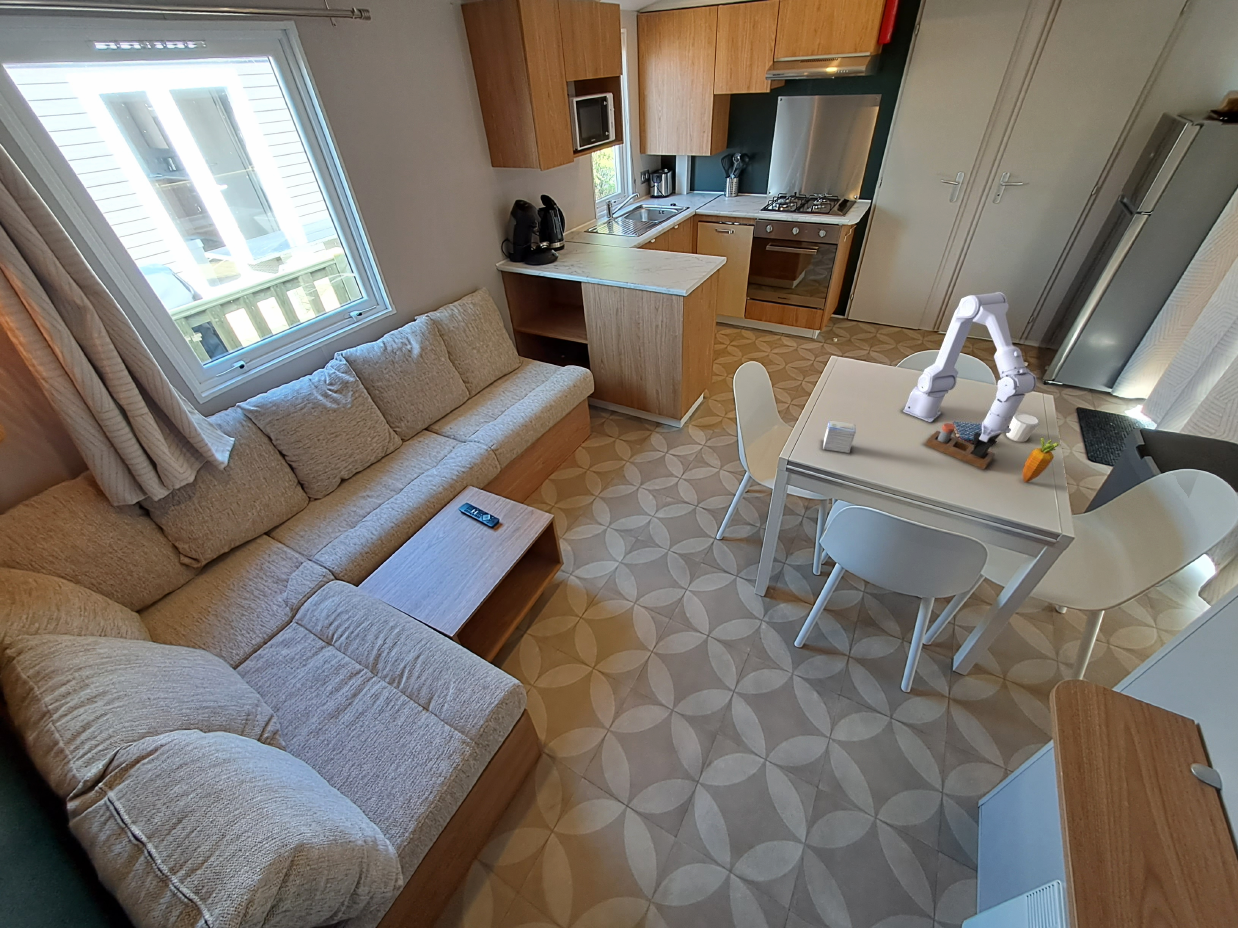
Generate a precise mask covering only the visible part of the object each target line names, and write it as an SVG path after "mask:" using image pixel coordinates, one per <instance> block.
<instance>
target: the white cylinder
mask: <svg viewBox="0 0 1238 928" xmlns="http://www.w3.org/2000/svg"><path fill="white" fill-rule="evenodd" d="M1040 423H1041V420H1040V419H1039V418H1038V417H1036V416H1035V415H1033V414H1030V413H1025V412H1016V413H1015V414H1014V416H1013V418H1012V419H1011V421H1010V423H1009V425H1008V426H1009V428H1010V429H1011V431H1010V433H1005V435H1006V437H1007V438H1008V439H1010V440H1011V441H1013V442H1014V441H1015V442H1018V443H1024V442H1026V441H1028V439H1029V438H1030V436H1031V435H1032V434H1033V433H1034V432H1035V431H1036V429H1037V428H1038V427H1039V425H1040Z"/></svg>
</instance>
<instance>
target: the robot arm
mask: <svg viewBox="0 0 1238 928" xmlns="http://www.w3.org/2000/svg"><path fill="white" fill-rule="evenodd" d="M1009 308H1010V306H1009V303H1008V299H1007V296H1006V294H1004V292H1001V291H996V292H992V293H991V292H990V293H984V294H975V295H974V294H971V295H967V296H963V297H962V298H961V299H960V301H959V303H958V306H957V308H956V309H955V311H954V313H953V315H952V318H951V320H950V324H949V326H948V329H947V331H946V333H945V336H944V339H943V341H942V344H941V347H940V348H939V352H938V355H937V357H936V360H935V362H934V363H933V364H931V365H930V366H928V367H926V368H925V369H924V370H923V373H922V374H921V375H920V376H919V378H918V380H917V385H915V387H913V389H912V391H911V393H910V394H909V396H908V399H907V401H906V404H905V407H904V409H903V410H902V412H903V413H904V414H905V413H906V414H908V415H911V416H913V417H916V418H918V419H920V420H924V421H926V422H929V423H932V422H933V421H934V420H935V419H936V418H937V417H939V416H940V415H941V413H942V412H941V411H940V410H939V409H940V407H941V405H942V404H943V403H942V402H943V400H944V398H945V396H946V394H948V393H949V392H950V391H952V390H954V388H955V387H956V385H957V379H958V374H959V371H958V370H957V368H956V367H955V366H956V363H957V361H958V359H959V356H960V354H961V352H962V349H963V348H964V347H963V346H964V344H965V342H966V339H967V337H968V335H969V333H970V330H971V328H972V326H973V323H977V324H981V325H984V326H986V327H987V330H988V333H989V334H990V336H991V337H990V338H991V339H992V342H993V344H994V346H995V348H996V351H995V354H994V355H993V359H994V361H995V364H996V367H997V370H998V374H999V377H1000V379H998V381H997V392H996V394H995V395H996V396H995V399H994V400H993V403H992V405H991V407H990V409H989V411H988V412H987V414H986V417H985V418H984V419H983V420H982V422H981V423H982V434H981V433H978V432H976V433H975V434H974V436H973V438H974V443H973V445H974V449H973V455H975V456H978V457H981V456H982V455H983V454H984V453H985V451H986V450H987V449H988V448H989V447H990V448H991V447H992V446H995V445H996V443H997V442H998V441H997V440H998V438H999V437H1000V436H1001V435H1002V434H1003V433H1005V434H1006V433H1010V431H1011V429H1010V428H1009V426H1010V424H1011V421H1012V419H1013V417H1014V415H1015V414H1016V413H1017V411H1018V408H1019V407H1020V405H1021V404H1022V402H1023V400H1024V399H1025V396H1026V394H1030V393H1032V392H1034V391H1035V389H1036V387H1037V376H1036V375H1035V374H1034V373H1032V372H1031V370H1030V369H1029V368H1027V367H1026V364H1025V361H1024V358H1023V354H1022V351H1021V350H1020V348H1019V347H1017V346H1015V345H1013V341H1012V337H1011V332H1010V329H1009V328H1010V327H1009V324H1008V319H1007V316H1006V315H1007V314H1006V313H1008V311H1009ZM990 448H989V449H990ZM989 449H988V450H989Z"/></svg>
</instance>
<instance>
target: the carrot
mask: <svg viewBox="0 0 1238 928" xmlns="http://www.w3.org/2000/svg"><path fill="white" fill-rule="evenodd" d="M1052 442H1053V439H1049V440H1048V441H1047V443H1046V444H1045V438H1040V443H1041V444H1040V445H1041V447H1037V448H1034V449H1033V450H1032V451H1031V452H1030V454H1029V456H1028V457H1027V459H1026V461H1025V464H1024V466H1023V470H1022V480H1023V482H1024V483H1029V482H1031V481H1033V480H1034V479H1036V478H1037V477H1039V476H1040V475H1041V474H1042V473H1043V472H1044V471H1045V470H1046V469H1047V468H1048V467H1049V465H1050V464H1051V462H1052V461H1053V460H1054V458H1055V456H1054V453H1052V452H1053V451H1056V450H1057V449H1056V448H1058V446H1060V444H1059V443H1058V442H1054V443H1053V444H1052Z"/></svg>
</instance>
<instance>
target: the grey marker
mask: <svg viewBox="0 0 1238 928" xmlns="http://www.w3.org/2000/svg"><path fill="white" fill-rule="evenodd" d="M954 429H955V426H954V425H952V423H948V422H946V423H943V425H942V427H941V430H940V434H939V437H938V439H937V440H938V441H940V442H943V443H945V444H947V443H948V441H949V439H950V437H951V436H953V433H954V432H955V431H954Z"/></svg>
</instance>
